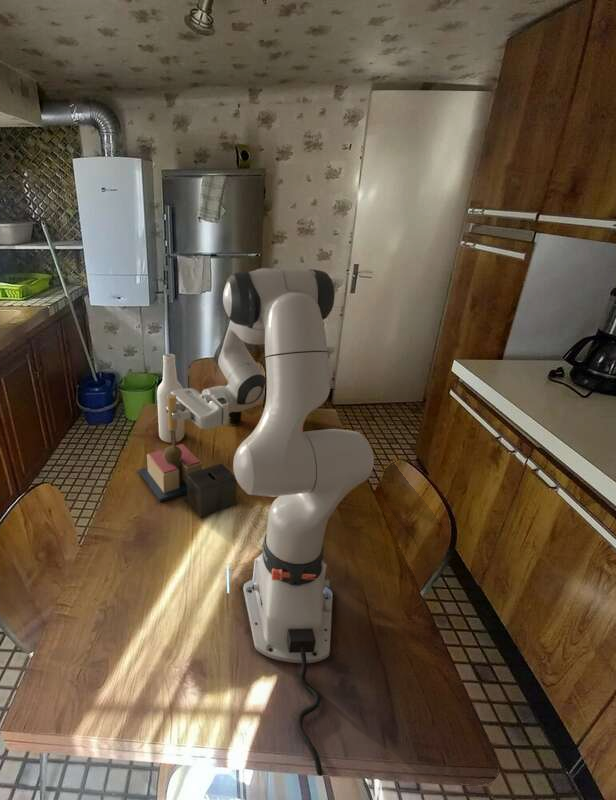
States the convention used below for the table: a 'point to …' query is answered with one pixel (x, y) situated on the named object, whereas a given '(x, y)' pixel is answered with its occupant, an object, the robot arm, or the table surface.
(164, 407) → the alcohol
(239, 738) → the table surface
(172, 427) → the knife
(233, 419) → the beer can
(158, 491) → the twin pink pillar stand
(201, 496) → the knife holder
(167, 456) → the brown piece
